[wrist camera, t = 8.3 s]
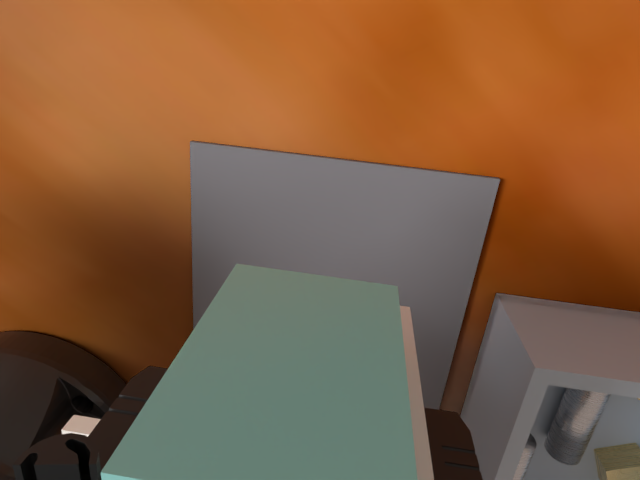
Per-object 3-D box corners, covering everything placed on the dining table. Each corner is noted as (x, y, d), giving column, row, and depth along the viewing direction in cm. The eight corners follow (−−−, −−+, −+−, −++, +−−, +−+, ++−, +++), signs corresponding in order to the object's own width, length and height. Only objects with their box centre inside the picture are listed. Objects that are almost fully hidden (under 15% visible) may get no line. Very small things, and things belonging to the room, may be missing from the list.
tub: (433, 508, 32) (447, 612, 26) (496, 292, 25) (535, 367, 19) (618, 539, 31) (675, 653, 25) (737, 325, 24) (855, 414, 18)
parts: (471, 499, 30) (477, 528, 29) (527, 333, 25) (540, 355, 23) (611, 522, 30) (627, 553, 28) (700, 357, 24) (726, 382, 23)
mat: (197, 483, 34) (196, 487, 34) (192, 140, 24) (190, 141, 23) (408, 518, 33) (409, 522, 33) (498, 177, 23) (500, 179, 22)
